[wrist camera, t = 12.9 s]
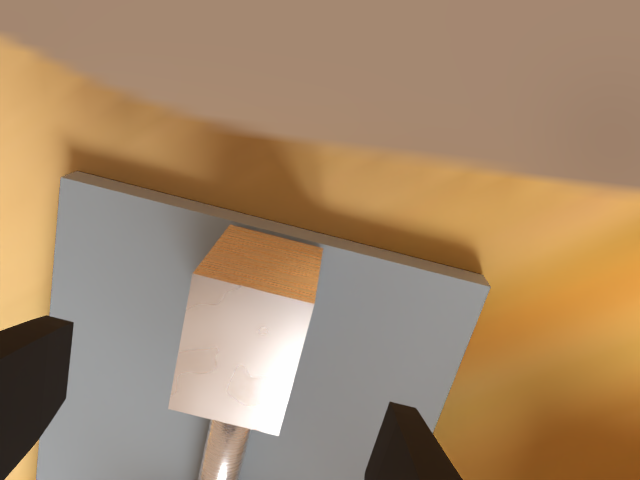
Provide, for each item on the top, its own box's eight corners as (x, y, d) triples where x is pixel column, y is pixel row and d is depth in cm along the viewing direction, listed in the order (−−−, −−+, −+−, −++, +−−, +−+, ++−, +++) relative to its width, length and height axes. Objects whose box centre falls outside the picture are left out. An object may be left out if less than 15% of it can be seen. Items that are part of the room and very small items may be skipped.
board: (334, 658, 24) (333, 683, 23) (38, 589, 23) (25, 611, 23) (483, 274, 17) (490, 286, 16) (76, 170, 17) (60, 176, 16)
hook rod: (240, 555, 20) (215, 666, 17) (167, 538, 20) (125, 645, 17) (323, 248, 16) (314, 304, 12) (229, 224, 16) (192, 273, 12)
